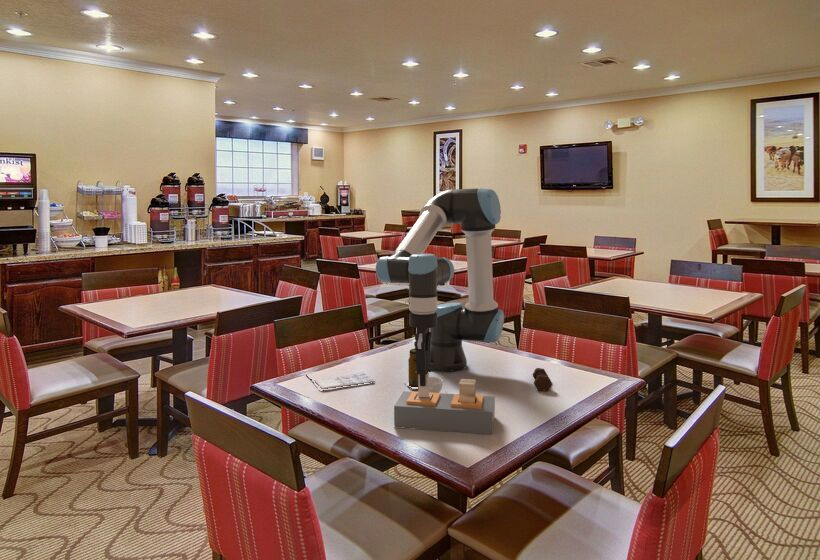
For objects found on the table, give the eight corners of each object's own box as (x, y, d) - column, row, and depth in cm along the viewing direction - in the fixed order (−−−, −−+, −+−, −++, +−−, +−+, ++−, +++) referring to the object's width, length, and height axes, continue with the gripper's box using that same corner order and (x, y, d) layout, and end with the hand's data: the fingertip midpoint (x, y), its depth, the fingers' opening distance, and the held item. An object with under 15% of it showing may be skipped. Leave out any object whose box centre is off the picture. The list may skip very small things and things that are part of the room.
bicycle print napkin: (320, 393, 177) (319, 387, 177) (305, 376, 195) (304, 370, 195) (375, 385, 185) (375, 379, 184) (356, 369, 203) (356, 363, 203)
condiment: (423, 380, 187) (423, 346, 186) (433, 388, 179) (433, 352, 178) (403, 383, 185) (403, 348, 183) (412, 391, 177) (411, 354, 175)
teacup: (415, 389, 179) (415, 375, 178) (446, 389, 179) (446, 375, 178) (414, 400, 169) (414, 385, 168) (447, 400, 169) (447, 385, 168)
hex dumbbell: (540, 382, 190) (545, 395, 175) (527, 375, 190) (531, 387, 176) (549, 368, 189) (555, 380, 174) (536, 361, 190) (541, 372, 175)
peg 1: (418, 416, 155) (417, 394, 154) (432, 417, 154) (432, 394, 153) (415, 422, 151) (415, 399, 150) (429, 423, 150) (429, 399, 149)
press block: (403, 411, 160) (403, 388, 159) (494, 417, 154) (494, 393, 154) (394, 427, 148) (394, 403, 147) (492, 434, 143) (492, 409, 142)
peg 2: (460, 402, 152) (460, 379, 151) (475, 403, 151) (475, 379, 150) (459, 407, 148) (459, 383, 147) (474, 408, 147) (474, 384, 146)
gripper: (414, 306, 155) (414, 387, 159) (404, 315, 143) (405, 403, 146) (440, 307, 154) (440, 389, 157) (433, 316, 141) (433, 405, 144)
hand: (423, 396), depth 151 cm, fingers closed
